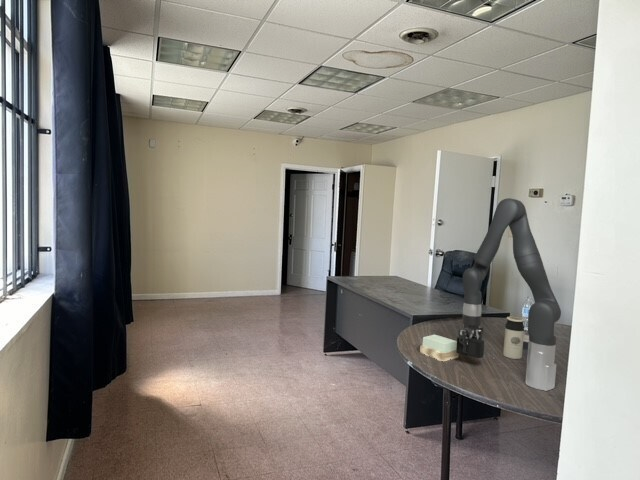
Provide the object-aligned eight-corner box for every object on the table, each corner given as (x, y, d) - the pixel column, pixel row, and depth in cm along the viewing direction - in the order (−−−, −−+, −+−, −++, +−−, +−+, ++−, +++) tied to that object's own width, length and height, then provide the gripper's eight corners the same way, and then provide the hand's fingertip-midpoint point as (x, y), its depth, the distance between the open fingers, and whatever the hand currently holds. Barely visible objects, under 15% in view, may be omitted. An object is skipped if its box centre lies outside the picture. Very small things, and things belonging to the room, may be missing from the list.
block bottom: (458, 358, 191) (458, 350, 190) (441, 362, 185) (442, 353, 184) (436, 350, 201) (436, 342, 201) (419, 353, 195) (420, 345, 195)
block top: (456, 349, 191) (456, 341, 191) (444, 353, 185) (445, 344, 185) (434, 342, 200) (434, 334, 200) (422, 345, 194) (422, 337, 194)
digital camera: (484, 355, 181) (485, 339, 180) (480, 358, 177) (480, 342, 176) (461, 350, 188) (462, 334, 187) (456, 353, 183) (457, 337, 183)
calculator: (534, 336, 220) (529, 341, 208) (533, 344, 220) (528, 349, 208) (511, 331, 226) (505, 336, 214) (511, 339, 226) (504, 344, 214)
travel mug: (503, 352, 201) (506, 315, 200) (522, 355, 197) (525, 318, 196) (502, 357, 194) (505, 319, 193) (521, 360, 190) (524, 321, 189)
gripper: (468, 317, 174) (466, 357, 175) (489, 313, 182) (487, 352, 183) (453, 313, 180) (452, 352, 181) (475, 310, 188) (473, 347, 189)
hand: (470, 351), depth 182 cm, fingers closed on digital camera, 5 cm apart
